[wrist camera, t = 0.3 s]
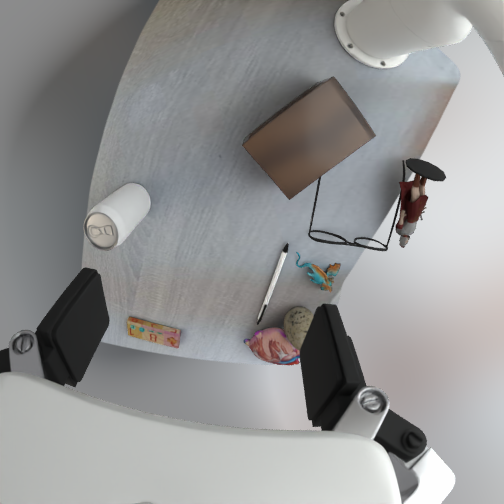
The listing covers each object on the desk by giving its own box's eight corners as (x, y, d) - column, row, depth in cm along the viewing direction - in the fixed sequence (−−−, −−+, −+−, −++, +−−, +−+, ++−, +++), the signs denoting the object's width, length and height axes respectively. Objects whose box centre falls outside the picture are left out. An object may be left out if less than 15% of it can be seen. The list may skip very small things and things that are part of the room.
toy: (179, 335, 55) (177, 350, 57) (181, 329, 57) (179, 343, 59) (126, 321, 54) (127, 336, 56) (128, 315, 55) (130, 330, 58)
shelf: (244, 138, 37) (241, 145, 30) (319, 81, 33) (333, 76, 26) (283, 183, 41) (289, 200, 34) (355, 129, 36) (376, 135, 29)
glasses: (303, 230, 44) (309, 241, 40) (319, 139, 38) (328, 139, 34) (379, 241, 45) (391, 252, 40) (398, 159, 39) (414, 162, 35)
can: (114, 184, 41) (75, 211, 30) (148, 180, 40) (114, 207, 30) (121, 219, 44) (88, 254, 33) (154, 217, 44) (126, 253, 33)
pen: (255, 322, 55) (255, 326, 54) (285, 240, 45) (286, 243, 44) (259, 322, 55) (259, 326, 54) (290, 241, 45) (291, 245, 44)
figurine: (453, 177, 31) (424, 252, 41) (418, 155, 36) (397, 228, 46) (431, 182, 29) (401, 264, 39) (394, 158, 34) (373, 237, 44)
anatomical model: (239, 323, 57) (270, 366, 62) (231, 342, 52) (266, 385, 57) (284, 311, 53) (312, 357, 58) (280, 330, 48) (310, 377, 53)
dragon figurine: (284, 289, 49) (325, 305, 47) (288, 265, 44) (335, 283, 42) (296, 263, 53) (335, 277, 51) (302, 238, 47) (345, 254, 45)
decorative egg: (276, 311, 53) (278, 350, 44) (299, 294, 51) (306, 332, 42) (296, 326, 55) (301, 363, 46) (318, 310, 53) (327, 347, 44)
